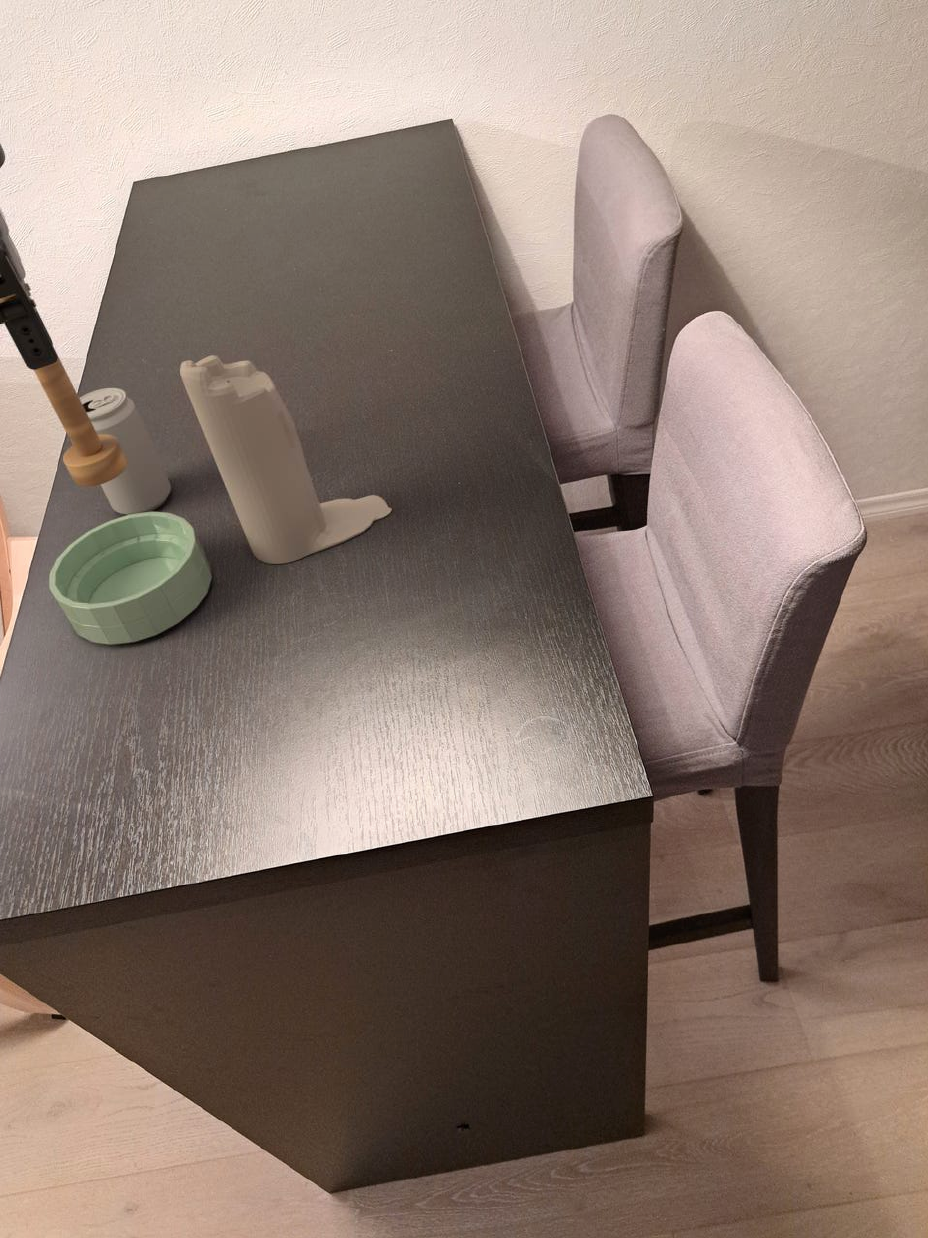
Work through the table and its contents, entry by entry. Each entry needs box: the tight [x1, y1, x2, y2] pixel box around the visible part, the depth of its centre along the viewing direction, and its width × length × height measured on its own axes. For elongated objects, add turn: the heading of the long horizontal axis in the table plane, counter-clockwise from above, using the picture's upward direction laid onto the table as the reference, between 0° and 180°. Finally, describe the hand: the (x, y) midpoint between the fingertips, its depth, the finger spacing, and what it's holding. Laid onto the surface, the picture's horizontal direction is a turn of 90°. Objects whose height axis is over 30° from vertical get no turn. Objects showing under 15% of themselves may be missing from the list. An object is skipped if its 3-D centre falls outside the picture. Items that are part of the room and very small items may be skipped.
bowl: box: [48, 511, 213, 646], centre depth 86 cm, size 13×13×5 cm
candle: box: [179, 354, 392, 565], centre depth 84 cm, size 7×14×20 cm, turn 113°
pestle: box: [0, 294, 127, 488], centre depth 70 cm, size 4×4×15 cm
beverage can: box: [79, 387, 172, 516], centre depth 96 cm, size 6×6×12 cm
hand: (41, 356), depth 69 cm, fingers closed on pestle, 2 cm apart
